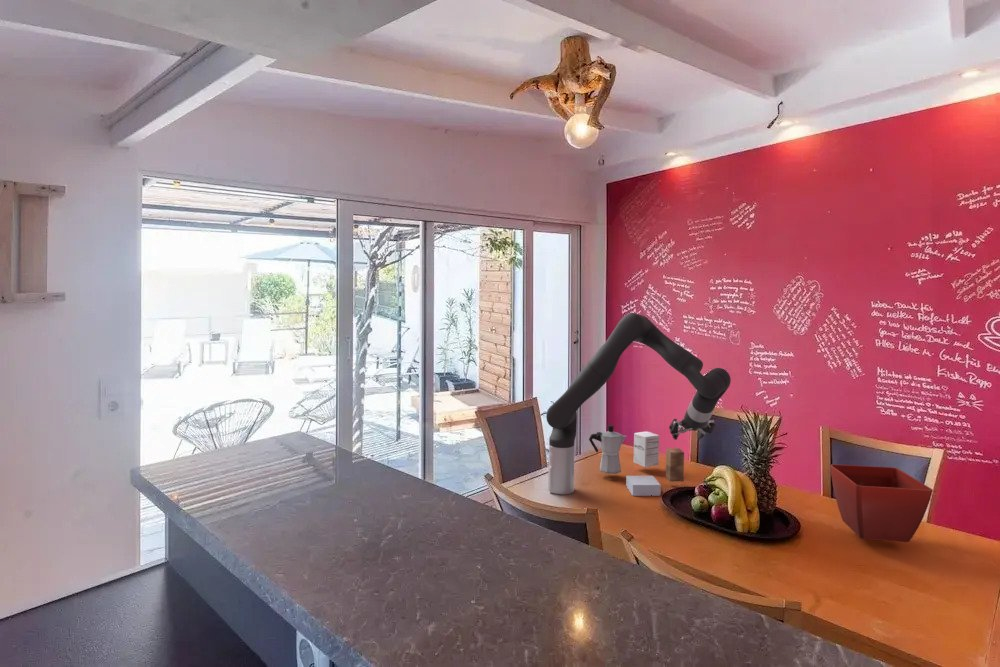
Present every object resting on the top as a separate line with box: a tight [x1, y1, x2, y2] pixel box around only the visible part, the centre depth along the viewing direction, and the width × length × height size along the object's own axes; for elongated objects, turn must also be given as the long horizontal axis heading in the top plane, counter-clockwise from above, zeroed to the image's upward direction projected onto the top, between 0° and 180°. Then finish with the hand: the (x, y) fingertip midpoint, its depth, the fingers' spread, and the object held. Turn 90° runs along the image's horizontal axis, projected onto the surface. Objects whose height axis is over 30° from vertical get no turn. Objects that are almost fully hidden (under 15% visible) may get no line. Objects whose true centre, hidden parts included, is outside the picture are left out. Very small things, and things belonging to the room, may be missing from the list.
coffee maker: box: [588, 424, 628, 475], centre depth 216 cm, size 15×9×18 cm, turn 84°
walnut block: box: [665, 448, 685, 482], centre depth 206 cm, size 5×5×11 cm
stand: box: [625, 475, 662, 497], centre depth 202 cm, size 10×10×4 cm
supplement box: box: [633, 431, 660, 468], centre depth 224 cm, size 7×7×13 cm
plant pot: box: [829, 463, 934, 543], centre depth 160 cm, size 19×19×17 cm
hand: (686, 437), depth 193 cm, fingers open, 8 cm apart
